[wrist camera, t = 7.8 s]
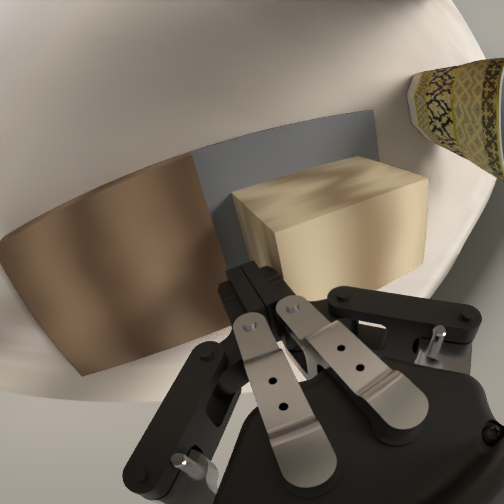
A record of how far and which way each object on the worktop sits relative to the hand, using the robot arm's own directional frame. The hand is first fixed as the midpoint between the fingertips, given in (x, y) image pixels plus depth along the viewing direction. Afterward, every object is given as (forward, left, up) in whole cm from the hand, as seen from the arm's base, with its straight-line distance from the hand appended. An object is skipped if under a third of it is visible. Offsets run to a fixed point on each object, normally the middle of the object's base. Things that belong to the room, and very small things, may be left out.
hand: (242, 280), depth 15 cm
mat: (-7, -1, -6) cm, 9 cm away
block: (-7, 0, -6) cm, 9 cm away
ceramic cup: (-23, -5, -6) cm, 24 cm away
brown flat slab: (+7, 0, -6) cm, 9 cm away
